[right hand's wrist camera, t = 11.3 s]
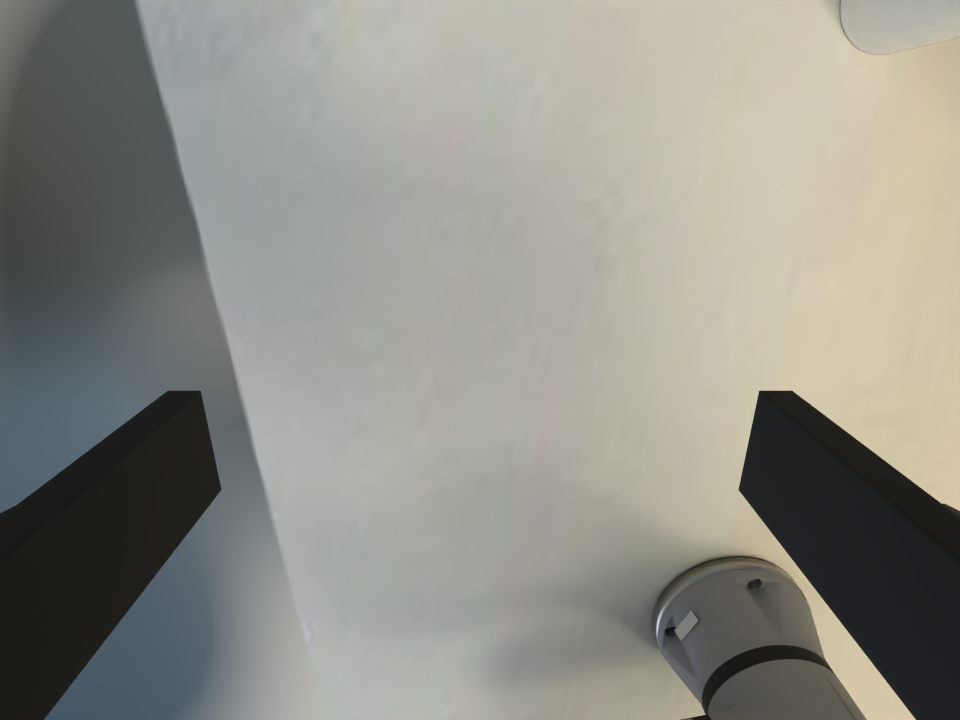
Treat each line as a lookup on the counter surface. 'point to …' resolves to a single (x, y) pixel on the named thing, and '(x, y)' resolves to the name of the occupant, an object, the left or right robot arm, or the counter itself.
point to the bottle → (899, 23)
